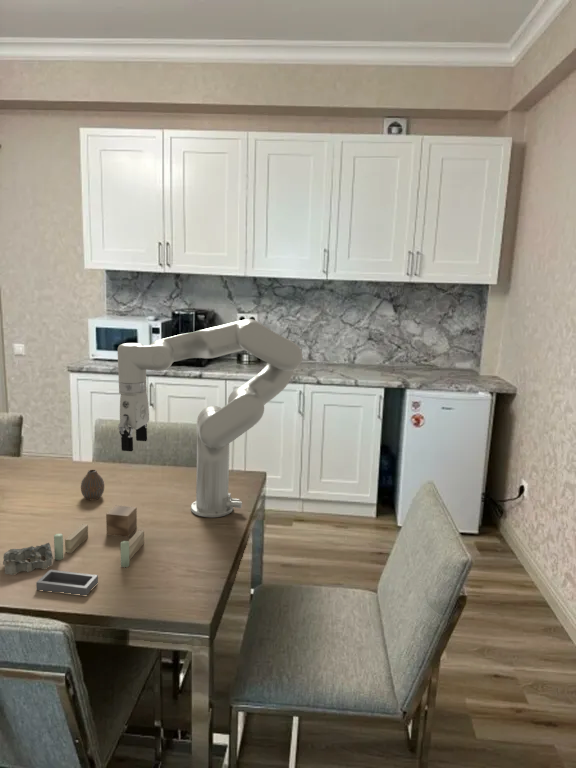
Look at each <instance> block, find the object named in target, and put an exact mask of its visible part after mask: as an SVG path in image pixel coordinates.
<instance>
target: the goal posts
mask: <svg viewBox="0 0 576 768" xmlns="http://www.w3.org/2000/svg"><path fill="white" fill-rule="evenodd" d="M63 537H64V536H63V533H55V534H53V549H54V551H53V552H54V560H56V561H61V560H63V559H64V538H63ZM128 566H129V567H130V560H129V540H121V542H120V567H121V568H122V567H124V568H123V569H125V567H127V568H128Z"/></svg>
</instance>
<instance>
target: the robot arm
mask: <svg viewBox="0 0 576 768" xmlns="http://www.w3.org/2000/svg"><path fill="white" fill-rule="evenodd" d="M242 351H246V352H247V353H249V354H250V355H252V356H254V357H256V358H258V359H260V360H261V361H263V362H265V363H266V364H265V366H264V368H262V369H261V371H259V372H258V373H256V375H255V376H253V377H251V378H249V379H248V380H247V381H246V382H245V383H243V384H241V385H240V386H239V387H237V388H236V389H234V390H233V391H232V392H231V393H230V394H229V395H228V397H227V398H228V399H227V404H226V405H224V406H223V407H220V406H215V405H210V406H207V407H205V408H203V409H202V410H201V412H200V413H199V414H198V417H197V420H196V487H195V488H196V489H195V490H196V491H195V493H196V494H195V496H196V497H195V498H196V499H195V501H193V502H192V503H191V505H190V511H191V512H192V513H193V514H194V515H196V516H199V517H203V518H220V517H224V516H228V515H229V514H230V513H232V512H233V510H234V508H236V509H237V508H238V509H242V507H243V501H241V499H240V498H233V497H231V494H232V493H231V492H229V481H230V480H229V477H230V476H229V475H230V474H229V473H230V471H229V470H230V443H232V442H233V441H235V440H236V439H238V438H240V437H241V436H242V435H244V434H245V433H246V432H248V431H249V430H250V429H251V428H253V427H254V426H255V425H257V423H259V421H261V419H262V418H263V416H264V413H265V405H266V404H268V403H269V402H270V401H272V400H273V399H275V397H276V396H278V395H279V394H280V393H282V392H283V391H284V390H285V388H286V387H287V386H288V384H289V383H290V381H291V378H292V377H293V374H294V370H296V369H298V368H299V367H300V365H301V363H302V361H303V352H302V349H301V347H300V346H299V345H298V344H297V343H296V342H294V341H292V340H291V339H289V338H287V337H284V336H283V335H280V334H278V333H276V332H275V331H274V330H271V329H269V328H268V327H267V326H265V325H264V324H262V323H260V322H259V321H257V320H255V319H254V318H246V319H242V320H237V321H233V322H232V321H231V322H229V323H225V324H220V325H217V326H212V327H208V328H204V329H199V330H196V331H193V332H192V331H191V332H186V333H181V334H177V335H173V336H169V337H165V338H161V339H157V340H155V341H153V342H151V343H150V344H149V345H144V344H142V343H139V342H126V343H122V344H119V345H118V347H117V371H118V375H117V376H118V394H119V395H120V400H119V423H118V430H119V434H120V438H121V439H120V441H121V442H120V443H121V445H120V446H121V451H122V452H133V451H134V437H132V436H133V433H134V430H135V439H136V441H138V442H147V441H148V428H147V427H148V423H149V421H150V411H149V399H148V394H147V392H148V391H147V388H148V387H147V370H148V371H152V372H153V371H154V372H164V371H166V370H169V368H170V367H172V364H173V363H174V362H179V361H183V360H188V359H194V358H199V359H201V358H202V359H215V358H218V357H223V356H226V355H230V354H233V353H239V352H242Z"/></svg>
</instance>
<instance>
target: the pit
mask: <svg viewBox="0 0 576 768" xmlns="http://www.w3.org/2000/svg"><path fill="white" fill-rule="evenodd" d="M35 583H36V584H35V586H36V588H35V589H36V591H37V590H43V591H42V592H44V591H52V592H64V593H71V594H80V595H87V594H88V593H89V592H90V590H91V589H92V588H93V587H94V586H95V585H96V584H97V583H98V584H99V574H90V573H83V572H72V571H67V570H66V571H65V570H59V569H58V570H56V569H48V571H47V572H45V574H44V575H42V577H40V578H39V579H38V580H37V581H36V582H35ZM98 584H97V585H98ZM97 585H96V586H97ZM96 586H95V587H96ZM95 587H94V588H95ZM94 588H93V589H94ZM52 592H51V593H52ZM90 593H91V592H90ZM90 593H89V594H90ZM89 594H88V595H89ZM88 595H87V596H88Z"/></svg>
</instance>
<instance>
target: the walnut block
mask: <svg viewBox="0 0 576 768" xmlns="http://www.w3.org/2000/svg"><path fill="white" fill-rule="evenodd" d="M137 509H138V507H137V506H127V505H117V504H116V505H114V506H113V507H112V508H111V509H110V510H109V511H107V513H106V514H105V515H106V516H105V517H106V519H105V520H106V522H105V524H106V535H108V536H115V537H116V536H117V537H127V538H128V537H130V535H131V534H132V533H133V532H134V531H135V530H136V529H137V526H138V518H137V517H138V516H137V514H138V513H137V512H138V511H137Z"/></svg>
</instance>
